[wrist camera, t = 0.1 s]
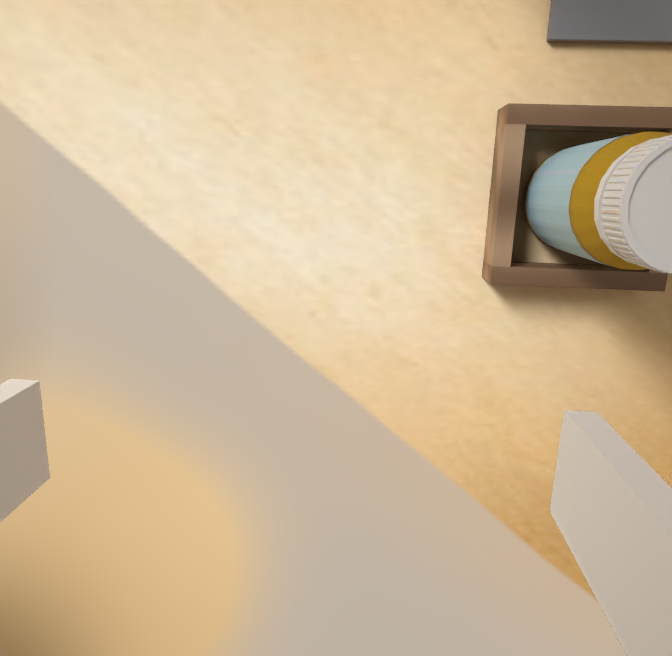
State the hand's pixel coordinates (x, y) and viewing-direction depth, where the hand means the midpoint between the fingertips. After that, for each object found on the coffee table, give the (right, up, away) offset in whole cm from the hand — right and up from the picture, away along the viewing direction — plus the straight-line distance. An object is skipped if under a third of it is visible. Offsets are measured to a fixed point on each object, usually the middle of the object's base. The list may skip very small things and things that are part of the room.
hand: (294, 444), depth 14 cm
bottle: (+18, +12, +25) cm, 33 cm away
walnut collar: (+18, +12, +25) cm, 32 cm away
